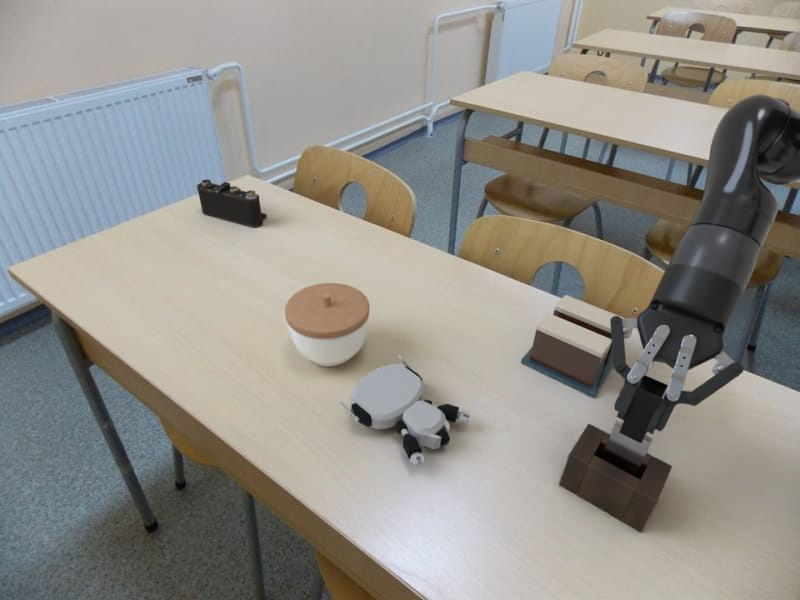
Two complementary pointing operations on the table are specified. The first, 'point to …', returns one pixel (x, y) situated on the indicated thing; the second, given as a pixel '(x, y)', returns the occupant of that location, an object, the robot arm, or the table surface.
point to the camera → (230, 203)
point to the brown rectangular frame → (613, 480)
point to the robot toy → (403, 409)
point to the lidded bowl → (328, 322)
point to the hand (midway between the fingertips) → (635, 424)
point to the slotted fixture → (574, 345)
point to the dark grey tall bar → (634, 428)
